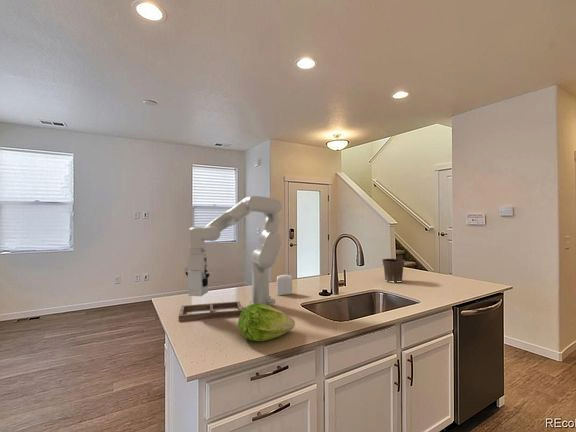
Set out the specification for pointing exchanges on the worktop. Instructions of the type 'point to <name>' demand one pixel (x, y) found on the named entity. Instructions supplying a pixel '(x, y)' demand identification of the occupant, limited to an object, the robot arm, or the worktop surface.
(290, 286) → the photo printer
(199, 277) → the supplement box
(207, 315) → the tray
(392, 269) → the plant pot
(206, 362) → the worktop surface
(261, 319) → the lettuce
